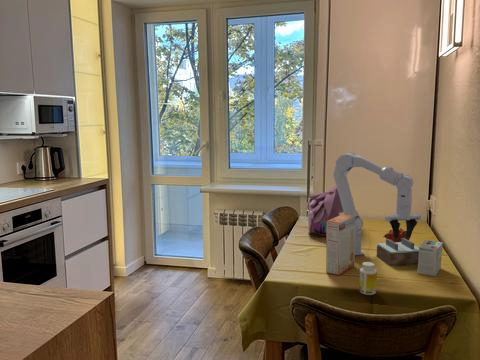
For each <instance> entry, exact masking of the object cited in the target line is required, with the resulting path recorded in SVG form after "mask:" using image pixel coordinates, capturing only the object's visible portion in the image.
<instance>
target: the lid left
mask: <svg viewBox="0 0 480 360" xmlns="http://www.w3.org/2000/svg"><path fill="white" fill-rule="evenodd" d="M377 245H379V246H380V247H382V248H383V249H385V250H386V251H388V252H390V253H407V251H406V250H404V249H402V248H401V247H399V246H398V244H397V243H395V242H393V241H392V240H390V239H386V238H385V242H382V243H381V242H379V243H377Z"/></svg>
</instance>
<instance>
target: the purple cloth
mask: <svg viewBox="0 0 480 360" xmlns="http://www.w3.org/2000/svg"><path fill="white" fill-rule="evenodd" d="M307 210H308V213H307V215H306V217H307V218H306V221H307V229H308V234H310V232H311V233H314V234H317V235H321V236H324V237H325V236H326V229H327V221H328V220H330V219H333V218H335V217H337V216H340V214H341V213H343V214H344V211H343V208H342V204H341V200H340V197H339V193H338V190H337V186H336V185H334V186H333V187H332V188H329V189H328V190H327V191H325V192H320V193H315V194H311V197H310V199H309V200H308V203H307Z"/></svg>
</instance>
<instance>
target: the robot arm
mask: <svg viewBox="0 0 480 360" xmlns="http://www.w3.org/2000/svg"><path fill="white" fill-rule="evenodd" d="M353 168H363V169H365V170H368V171H370V172H372V173H375V174H377V175H378V176H379V179H380V180H382V181H384V182H386V183H388V184H390V185H392V186H395V187H396V189H397V193H396V204H395V205H396V208H395V210H396V211H395V214H391V215H390V214H389V215H385V221H386V222H389V224H390V226H391V228H392V229H391V230H393V233H394V237H395V238H398V236H399V230H400V228H401V227H400V226H401V223H400V222H399V221H405V225H406V230H405V231H406V236H407V237H409V238H410V239H411V237H412V233H413V231H414V230H415V229H414V228H415V227H416V226H417V224H418V221H421V220H422V215H421V214H412V203H413V202H412V199H413V196H412V195H413V193H412V192H413V189H412V187H413V186H414V179H413V178H412V177H411V176H410V175H409V174H404V173H403V172H398V171H397V170H394V167H393V166H389V167H388V166H385V167H382V166H380V165H378V164H377V163H375V162H373V161H371V160H369V159H367V158H365V157H364V156H361V155H359V154H356V153H354V152H347V153H342V154H340V156H339V157H338V158H337V159H336V161H335V166H334V172H333V178H334V181H335V186H337V190H338V193H339V197H340V200H341V204H342V208H343V211H344V212H343V214H346V215H352V216H355V256H360V255H361V256H362V255H365V252H363V251H362V234H363V233H362V230H361V229H362V228H363V226H364V221H363V219H362V218H361V217H360V214H359V212H358V211H357V210H356V206H355V202H354V198H353V195H352V192H351V189H350V184H349V182H348V177H347V176H348V174H349V173H350V171H351V170H352V169H353ZM417 220H418V221H417Z"/></svg>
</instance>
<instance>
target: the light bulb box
mask: <svg viewBox="0 0 480 360" xmlns="http://www.w3.org/2000/svg"><path fill="white" fill-rule="evenodd" d="M443 244H444V243H443V242H441V241H434V240H428V239H424V241H423V242H422V243H421V244H420V245H419V247H418V248H419V258H418V265H417V274H422V275H428V276H433V277H436V276H437V275H438V273H439V271H440V270H441V269H442V268H441V267H442V256H443Z"/></svg>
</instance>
